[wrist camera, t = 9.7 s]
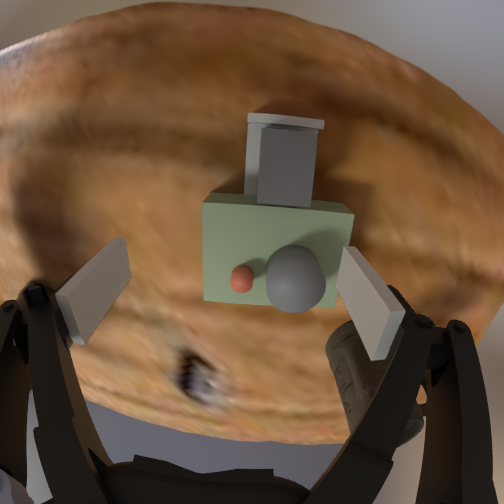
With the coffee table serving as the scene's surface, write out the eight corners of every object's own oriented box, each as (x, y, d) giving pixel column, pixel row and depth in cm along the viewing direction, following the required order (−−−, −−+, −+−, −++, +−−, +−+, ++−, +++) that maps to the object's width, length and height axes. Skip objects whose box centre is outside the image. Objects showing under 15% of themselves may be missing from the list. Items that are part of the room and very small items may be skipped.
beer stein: (322, 370, 44) (351, 467, 26) (317, 327, 40) (357, 439, 22) (399, 345, 43) (446, 426, 25) (404, 301, 39) (470, 386, 21)
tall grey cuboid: (257, 188, 31) (256, 203, 25) (261, 129, 28) (261, 127, 22) (299, 192, 31) (310, 207, 25) (305, 133, 29) (318, 133, 22)
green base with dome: (210, 280, 37) (197, 321, 29) (213, 113, 28) (196, 105, 20) (325, 286, 37) (341, 328, 29) (350, 127, 28) (382, 126, 20)
